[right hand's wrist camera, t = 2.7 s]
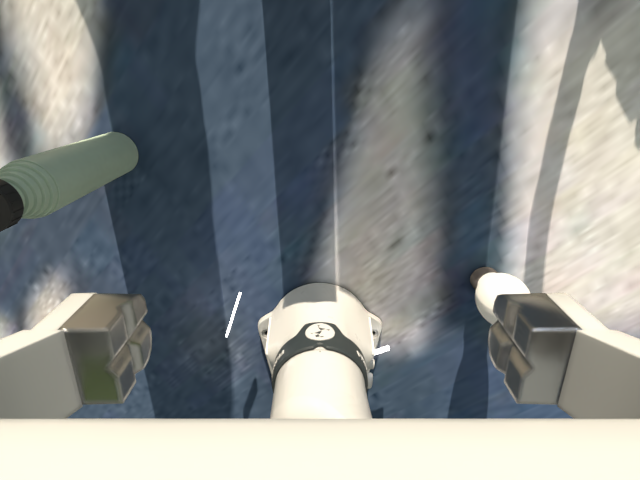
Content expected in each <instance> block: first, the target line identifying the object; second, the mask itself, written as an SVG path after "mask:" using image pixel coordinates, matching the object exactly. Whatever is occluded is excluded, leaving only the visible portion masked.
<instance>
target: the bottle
mask: <svg viewBox="0 0 640 480" xmlns="http://www.w3.org/2000/svg"><path fill="white" fill-rule="evenodd" d="M137 162H138V150H137V147H136V145H135V144H134V142H133V141H132V140H131V139H130V138H129V137H127V136H126V135H124V134H122V133H119V132H109V133H106V134H102V135H99V136H96V137H92V138H89V139H86V140H82V141H79V142H75V143H72V144H69V145H65V146H62V147H59V148H55V149H52V150H48V151H45V152H42V153H38V154H35V155H32V156H28V157H25V158H21V159H18V160H15V161H12V162H10V163H8V164H7V165H5V166H4V167H2V168H1V169H0V179H2V180H4V181H6V182H8V183H9V184H11V185H12V186H13V187H14V188H15V189H16V190H17V191H18V193H19V194H20V196H21V198H22V200H23V204H24V212H23V215H22V216H23V217H21V218H28V219H34V218H39V217H44V216H47V215H49V214H51V213H53V212H55V211H56V210H58V209H60V208H62V207H64V206H66V205H68V204H70V203H71V202H73V201H75V200H77V199H79V198H81V197H83V196H85V195H86V194H88V193H90V192H92V191H94V190H96V189H98V188H100V187H101V186H103V185H105V184H107V183H109V182H111V181H113V180H115V179H116V178H118V177H120V176H122V175H124V174H126V173H128V172H130V171H131V170H133V169H134V168H135V166H136V164H137Z"/></svg>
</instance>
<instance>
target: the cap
mask: <svg viewBox="0 0 640 480" xmlns="http://www.w3.org/2000/svg"><path fill="white" fill-rule="evenodd" d="M23 212H24V204H23V200H22V198H21V196H20V194H19V193H18V191H17V190H16V189H15V188H14V187H13V186H12V185H11V184H9V183H8V182H6V181H4V180H2V179H0V232H1V231H3V230H5V229H6V228H9V227H11V226H13V225H15V224H17V223H18V221H19V220H20V219H21V217H23V216H22V215H23Z"/></svg>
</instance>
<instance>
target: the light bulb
mask: <svg viewBox="0 0 640 480" xmlns="http://www.w3.org/2000/svg"><path fill="white" fill-rule="evenodd" d="M470 282H471V285H472V286H473V287H474V289H475V290H476V292H475V301H476V305H477V308H478V310H479V312H480V313H481V315H482V316H483V317H484V318H485V319H486V320H487V321H488V322H490V323H491V324H494V323H495V322H496V321H497V320H498V319H497V318H496V316H495V315H494V313H493V306H494V301H495V299H496V297H497V295H501V294H529V293H530V291H529V289H528V288H527V287H526V285H525V284H524V283H523V282H522V281H520V280H519V279H518V278H516V277H514V276H512V275H509V274H505V273H497V272H496V271H495V270H494V269H492V268H490V267H482V268H479V269H477V270H475V271H474V272H473V273H472V275H471V277H470Z"/></svg>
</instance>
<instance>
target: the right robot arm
mask: <svg viewBox="0 0 640 480" xmlns="http://www.w3.org/2000/svg"><path fill="white" fill-rule="evenodd" d="M240 296H241V292H239V294H238V297H237V301H236V304H235V307H234V310H233V313H232V317H231V320H230V323H229V326H228V329H227V333H226V336H225V337H228V334H229V330H230V327H231V324H232V321H233V318H234V315H235V311H236V308H237V305H238V302H239V299H240ZM146 313H147V307H146V302H145V298H144V297H143V296H142V295H141V294H111V293H98V294H97V293H75V294H71V295H70V296H69V297H67V298H66V299H65V300H64V301H63V302H62V303H61V304H60V305H58V306H57V307H56V308H55V309H54V310H53V311H52V312H51V313H49V314H48V315H47V316H46V317H45V318H44V319H43V320H41V321H40V322H39V323H38V324H37V325H36V326H35V327H34V328H32V329H31V330H22V331H20V332H17V333H15V334H12V335H10V336H7V337H5V338H2V339H0V480H640V339H638V338H635V337H633V336H630V335H628V334H625V333H623V332H620V331H618V330H609V329H608V328H606V327H605V326H604V325H603V324H602V323H601V322H600V321H599V320H597V319H596V318H595V317H594V316H593V315H592V314H591V313H590V312H588V311H587V310H586V309H585V308H584V307H583V306H582V305H581V304H579V303H578V302H577V301H576V300H575V299H574V298H573V297H572V296H570V295H569V294H566V293H529V294H501V295H497V297H496V299H495V301H494V306H493V313H494V315H495V316H496V318H497V319H498V320H497V321H496V322H495V323H494V324H493V325H492V326H491V327H490V329H489V337H488V346H489V354H490V357H491V360H492V362H493V364H494V366H495V368H496V369H498V370H499V371H501V372H503V373H504V374H505V379H504V383H505V385H506V386H507V388H508V390H509V391H510V393H511V395H512V396H513V398H514V400H515V401H516V403H520V404H557V405H558V407H559V408H560V409H562V410H563V411H565V412H566V413H567V414H569V415H570V416H571V417H573V418H574V419H372V416H371V412H370V408H369V404H368V399H367V394H366V393H367V389H370V388H371V387H372V382H373V375H372V373H370V372H369V371H370V369H374V365H375V361H374V359H373V358H374V355H377V354H380V353H382V352H385V351H388V350H390V348H389V345H388V346H385V347H382V348H379V349H376V347H377V344H378V341H379V337H380V334H381V330H382V322H381V320H380V319H379V318H378V317H377V316H375V315H373V314H372V313H370V312H368V311H367V310H366V309H365V308H364V306H363V305H362V304H361V302H360V301H359V300H358V299H357V297H356V296H354V295H353V294H352V293H351V292H349V291H348V290H346V289H344V288H342V287H340V286H337V285H333V284H329V283H312V284H307V285H303V286H300V287H298V288H296V289H294V290H292V291H291V292H289V293H288V294H287V295H286V296H284V298H283V299H282V300H281V301H280V302H279V304H278V305H277V306H276V308H275V309H274V310H273V311H272V312H270V313H268V314H267V315H265V316H263V317H262V318H261V319H260V320H259V322H258V330H259V334H260V337H261V340H262V344H263V347H264V351H265V354H266V358H267V361H268V364H269V368H270V371H271V375H272V389H273V393H274V395H273V401H272V409H271V416H270V419H66V418H67V417H69V416H70V415H72V414H73V413H74V412H76V411H77V410H78V409H80V408H81V407H82V405H83V404H119V403H124V401H125V400H126V398H127V396H128V395H129V393H130V391H131V390H132V388H133V386H134V385H135V383H136V379H135V374H136V373H137V372H139V371H141V370H142V369H144V368H145V366H146V364H147V362H148V360H149V357H150V353H151V348H152V336H151V329H150V327H149V326H148V325H147V324H146V323H145V322H144V321H143V320H142V319H143V318H144V316H145V315H146ZM265 331H268V333H266V332H265ZM372 331H375V332H374V333H372Z"/></svg>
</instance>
